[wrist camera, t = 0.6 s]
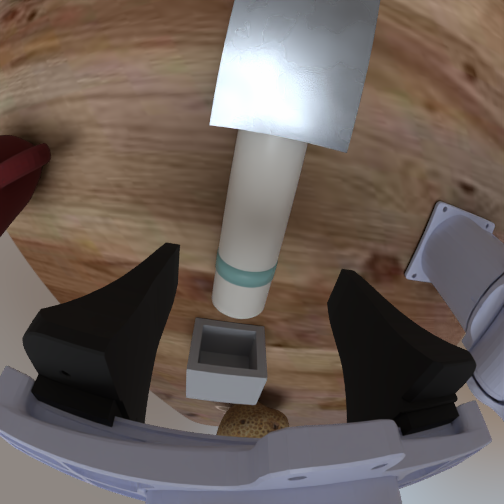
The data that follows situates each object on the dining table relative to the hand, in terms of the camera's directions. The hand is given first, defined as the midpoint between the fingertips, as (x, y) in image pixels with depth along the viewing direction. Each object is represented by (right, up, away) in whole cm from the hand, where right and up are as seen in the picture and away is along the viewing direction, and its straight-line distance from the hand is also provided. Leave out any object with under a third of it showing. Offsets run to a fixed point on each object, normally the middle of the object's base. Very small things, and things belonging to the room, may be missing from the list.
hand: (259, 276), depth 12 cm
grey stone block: (+2, +14, +2) cm, 14 cm away
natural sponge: (0, -19, +23) cm, 30 cm away
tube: (+1, +8, +5) cm, 10 cm away
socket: (-3, -8, +16) cm, 18 cm away
